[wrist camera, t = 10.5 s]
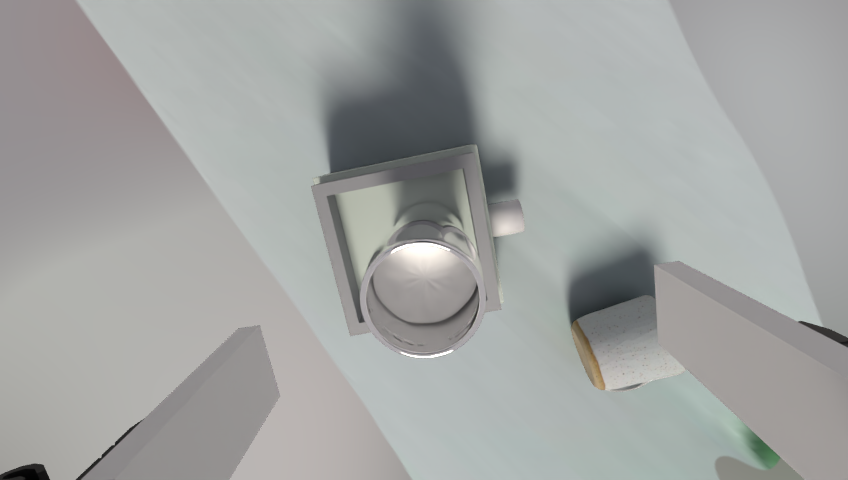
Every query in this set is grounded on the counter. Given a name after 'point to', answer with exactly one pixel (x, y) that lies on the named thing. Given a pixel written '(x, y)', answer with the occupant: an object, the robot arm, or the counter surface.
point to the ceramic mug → (623, 346)
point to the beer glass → (424, 284)
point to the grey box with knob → (392, 195)
